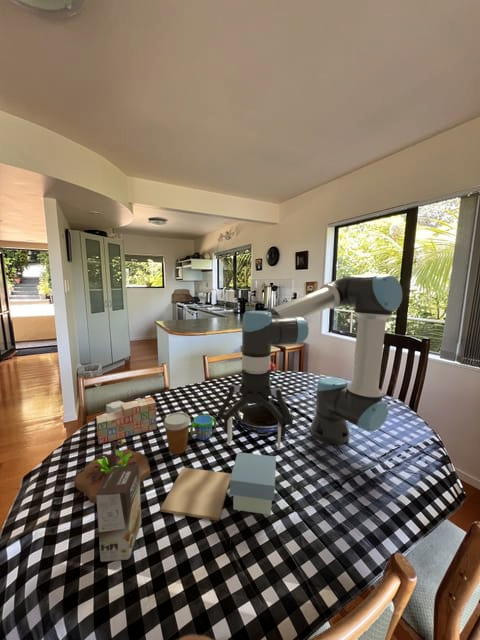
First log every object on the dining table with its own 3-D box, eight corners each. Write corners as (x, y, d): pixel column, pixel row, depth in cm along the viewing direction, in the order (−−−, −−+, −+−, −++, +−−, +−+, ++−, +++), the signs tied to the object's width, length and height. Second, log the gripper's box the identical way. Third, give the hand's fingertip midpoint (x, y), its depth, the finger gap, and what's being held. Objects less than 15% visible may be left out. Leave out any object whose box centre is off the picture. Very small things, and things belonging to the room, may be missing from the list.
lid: (275, 469, 78) (276, 456, 78) (274, 500, 67) (274, 485, 66) (237, 464, 80) (237, 452, 80) (229, 494, 69) (229, 480, 68)
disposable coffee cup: (177, 460, 89) (176, 428, 88) (158, 451, 94) (157, 420, 93) (196, 446, 97) (196, 416, 96) (178, 438, 102) (177, 409, 101)
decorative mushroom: (279, 385, 157) (280, 361, 155) (266, 389, 150) (266, 364, 148) (266, 380, 165) (267, 357, 163) (253, 384, 159) (254, 360, 157)
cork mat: (231, 475, 82) (231, 473, 82) (218, 520, 67) (218, 517, 67) (183, 469, 85) (183, 467, 85) (160, 511, 69) (160, 508, 69)
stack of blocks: (98, 446, 97) (96, 415, 95) (97, 438, 102) (95, 408, 100) (157, 430, 108) (156, 402, 106) (153, 423, 113) (152, 396, 112)
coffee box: (130, 560, 57) (126, 494, 55) (99, 562, 57) (94, 495, 54) (142, 522, 66) (139, 464, 64) (116, 524, 66) (112, 465, 63)
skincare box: (113, 424, 112) (112, 408, 111) (106, 420, 116) (105, 404, 115) (127, 419, 117) (126, 403, 116) (120, 414, 120) (119, 399, 119)
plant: (162, 471, 85) (160, 439, 83) (101, 514, 69) (98, 475, 67) (126, 449, 96) (125, 420, 95) (67, 481, 80) (64, 447, 79)
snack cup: (212, 428, 110) (211, 411, 109) (221, 437, 103) (221, 419, 102) (186, 436, 103) (186, 419, 102) (194, 446, 97) (193, 428, 96)
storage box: (272, 486, 78) (273, 461, 77) (270, 514, 68) (271, 487, 67) (239, 481, 80) (239, 457, 79) (233, 509, 70) (233, 482, 69)
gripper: (303, 368, 71) (299, 441, 73) (213, 362, 75) (213, 431, 78) (305, 377, 63) (301, 458, 66) (206, 370, 67) (206, 446, 70)
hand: (253, 444), depth 72 cm, fingers open, 13 cm apart
